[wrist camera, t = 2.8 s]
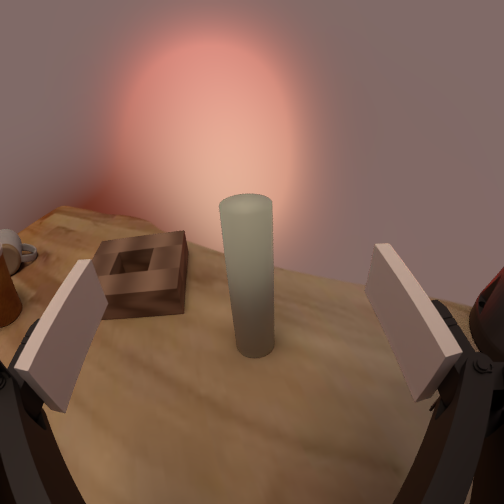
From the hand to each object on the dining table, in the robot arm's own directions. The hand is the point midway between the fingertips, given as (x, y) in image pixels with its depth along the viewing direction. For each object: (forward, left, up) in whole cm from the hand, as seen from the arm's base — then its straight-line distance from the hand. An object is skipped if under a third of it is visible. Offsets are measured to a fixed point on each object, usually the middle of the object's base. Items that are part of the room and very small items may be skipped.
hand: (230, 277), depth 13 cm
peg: (-2, -10, -17) cm, 20 cm away
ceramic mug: (+45, -34, -17) cm, 58 cm away
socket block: (+13, -23, -17) cm, 32 cm away
